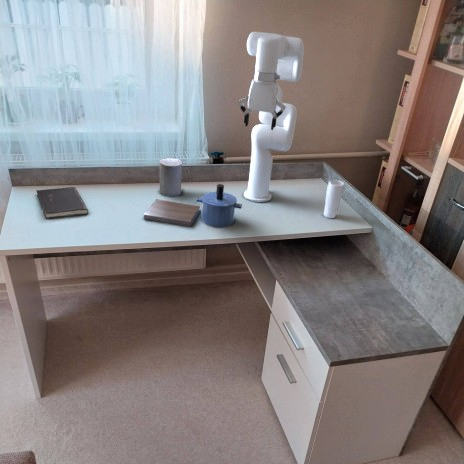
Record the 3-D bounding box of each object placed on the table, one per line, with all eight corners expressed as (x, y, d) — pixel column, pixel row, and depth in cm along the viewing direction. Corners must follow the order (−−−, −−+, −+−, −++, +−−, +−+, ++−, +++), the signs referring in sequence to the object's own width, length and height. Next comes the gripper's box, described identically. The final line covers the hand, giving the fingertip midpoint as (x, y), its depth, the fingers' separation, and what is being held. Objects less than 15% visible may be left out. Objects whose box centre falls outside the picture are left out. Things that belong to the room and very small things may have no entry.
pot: (200, 210, 202) (200, 190, 197) (242, 216, 200) (244, 197, 195) (192, 222, 192) (193, 202, 187) (237, 230, 190) (239, 210, 185)
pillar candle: (155, 193, 212) (155, 159, 204) (166, 186, 220) (166, 153, 211) (175, 198, 210) (175, 164, 201) (185, 190, 217) (186, 158, 209)
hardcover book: (45, 218, 184) (45, 213, 183) (36, 195, 200) (36, 190, 199) (88, 214, 190) (87, 208, 189) (76, 191, 207) (75, 186, 205)
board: (156, 203, 204) (156, 199, 203) (200, 210, 202) (200, 205, 201) (143, 219, 191) (143, 214, 190) (190, 226, 189) (190, 221, 188)
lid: (206, 192, 198) (207, 176, 194) (239, 197, 196) (240, 181, 192) (198, 205, 187) (199, 189, 183) (233, 211, 185) (234, 194, 181)
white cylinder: (338, 214, 210) (345, 181, 202) (335, 220, 205) (343, 187, 196) (323, 211, 212) (330, 178, 203) (320, 217, 207) (327, 183, 198)
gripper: (290, 78, 170) (283, 127, 180) (242, 72, 172) (238, 121, 182) (288, 82, 164) (281, 133, 174) (239, 75, 166) (234, 126, 176)
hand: (259, 127), depth 178 cm, fingers open, 9 cm apart
